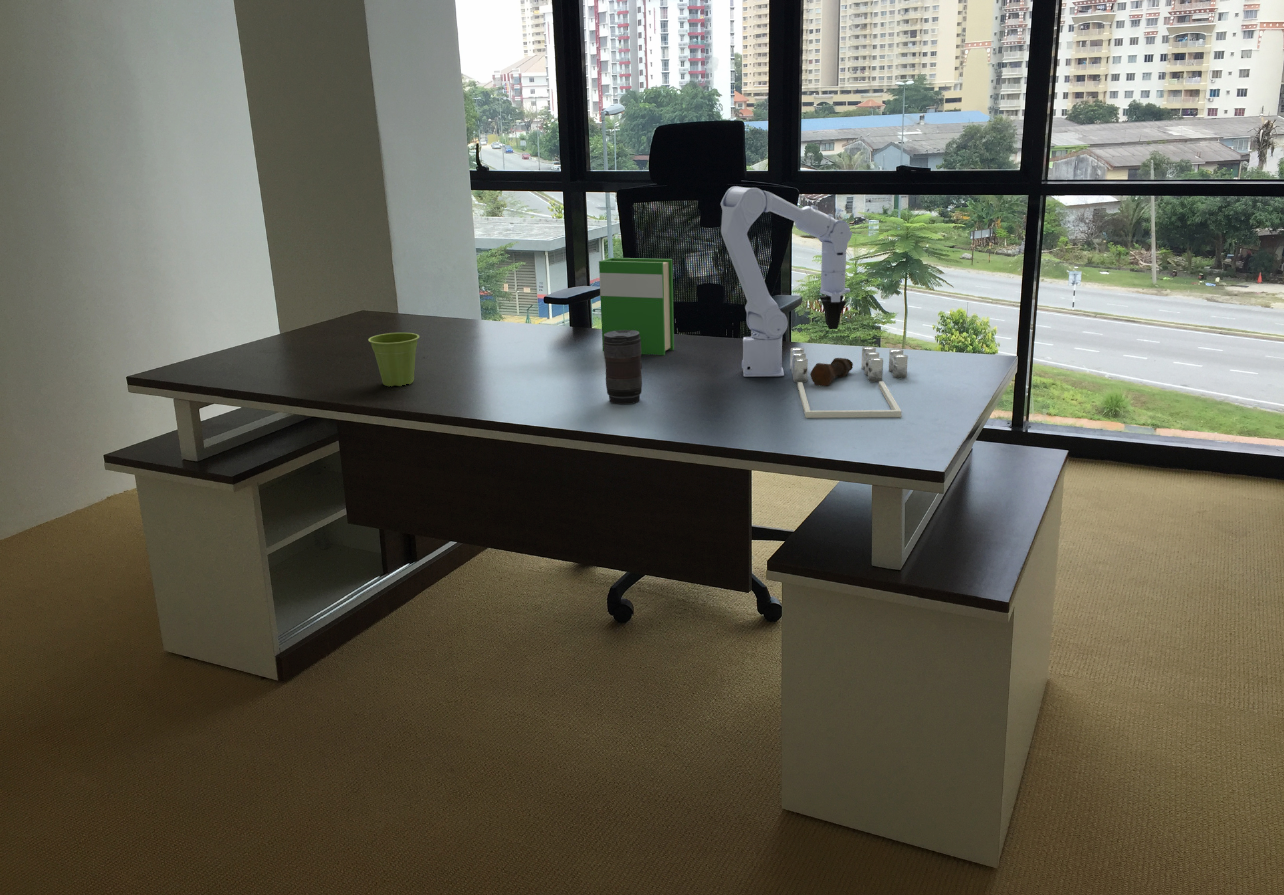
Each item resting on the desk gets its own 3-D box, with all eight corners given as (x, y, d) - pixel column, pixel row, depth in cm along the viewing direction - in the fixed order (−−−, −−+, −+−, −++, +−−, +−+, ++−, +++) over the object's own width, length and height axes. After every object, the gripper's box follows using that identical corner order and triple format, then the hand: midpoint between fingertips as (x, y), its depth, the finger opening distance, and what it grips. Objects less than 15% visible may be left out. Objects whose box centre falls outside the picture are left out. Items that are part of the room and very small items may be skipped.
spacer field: (793, 382, 235) (794, 361, 234) (789, 367, 249) (790, 347, 248) (909, 381, 233) (911, 360, 231) (899, 366, 247) (900, 346, 246)
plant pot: (363, 388, 243) (357, 341, 239) (391, 376, 253) (386, 331, 250) (406, 391, 239) (401, 343, 235) (433, 379, 249) (428, 333, 246)
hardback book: (674, 349, 274) (672, 259, 267) (664, 355, 267) (661, 262, 260) (614, 346, 280) (610, 257, 273) (602, 351, 274) (598, 261, 267)
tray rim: (805, 417, 207) (805, 411, 207) (797, 387, 231) (797, 382, 230) (901, 417, 205) (901, 411, 205) (883, 386, 229) (883, 381, 229)
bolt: (849, 380, 244) (823, 392, 232) (833, 368, 245) (806, 379, 233) (862, 360, 241) (836, 371, 229) (845, 348, 243) (818, 358, 231)
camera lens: (606, 396, 228) (604, 329, 224) (643, 395, 228) (641, 329, 223) (604, 405, 221) (601, 337, 216) (642, 405, 220) (640, 336, 216)
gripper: (853, 274, 237) (852, 332, 241) (847, 266, 251) (845, 321, 255) (823, 275, 237) (821, 333, 241) (817, 266, 251) (816, 321, 255)
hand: (831, 327), depth 248 cm, fingers open, 4 cm apart
